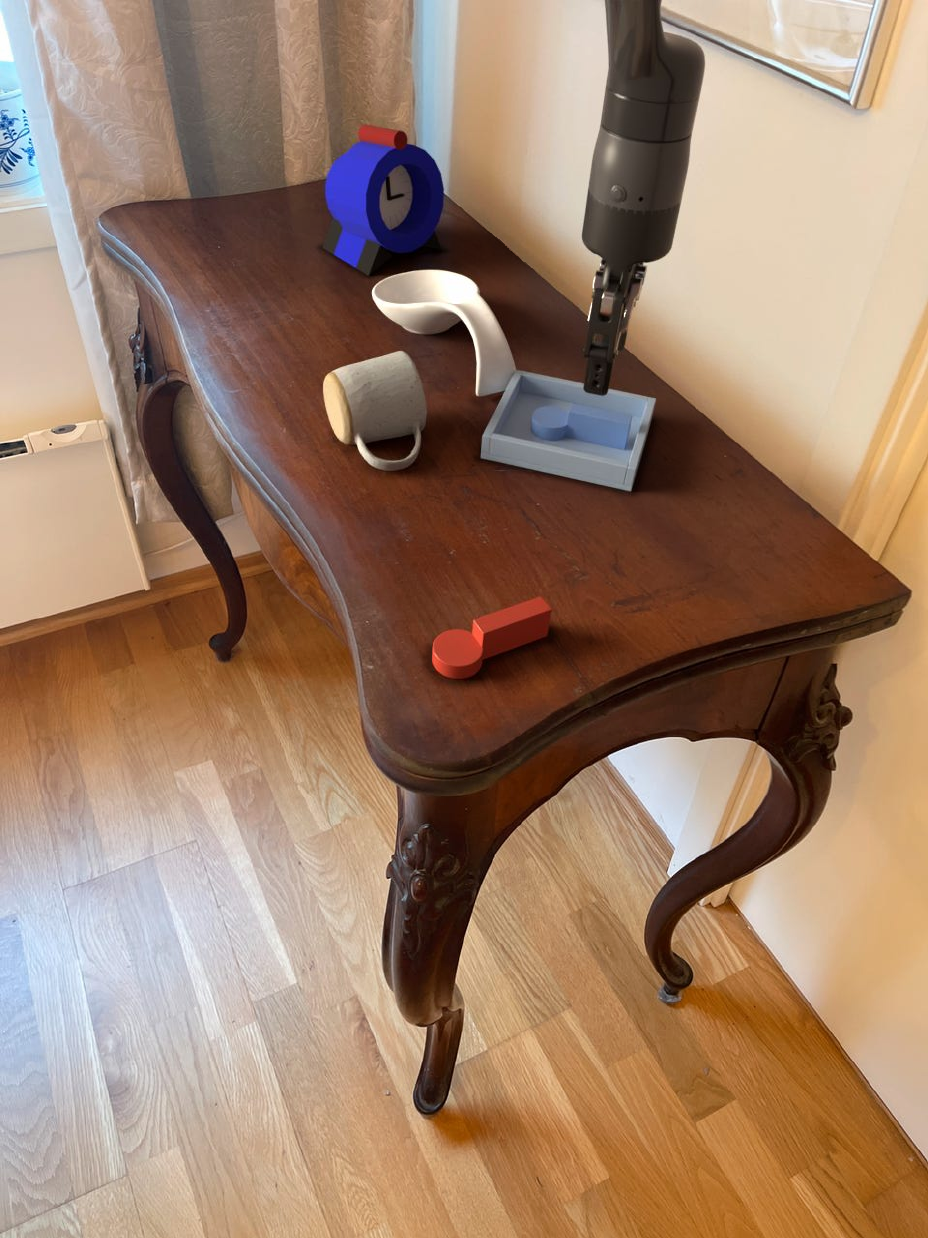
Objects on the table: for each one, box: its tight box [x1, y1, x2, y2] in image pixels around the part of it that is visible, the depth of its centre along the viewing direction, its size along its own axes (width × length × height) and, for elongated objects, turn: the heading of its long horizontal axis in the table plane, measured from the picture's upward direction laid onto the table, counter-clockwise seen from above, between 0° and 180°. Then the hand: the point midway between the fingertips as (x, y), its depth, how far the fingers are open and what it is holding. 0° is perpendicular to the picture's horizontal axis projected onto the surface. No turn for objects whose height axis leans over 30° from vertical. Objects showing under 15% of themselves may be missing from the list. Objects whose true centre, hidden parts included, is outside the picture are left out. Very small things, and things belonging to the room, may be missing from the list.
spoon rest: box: [371, 269, 517, 397], centre depth 101 cm, size 24×12×7 cm, turn 28°
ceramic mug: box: [322, 350, 428, 472], centre depth 87 cm, size 11×8×8 cm
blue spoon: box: [531, 403, 633, 450], centre depth 91 cm, size 10×4×3 cm, turn 73°
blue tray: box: [480, 369, 657, 492], centre depth 91 cm, size 15×13×3 cm
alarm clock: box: [322, 124, 445, 277], centre depth 115 cm, size 12×12×15 cm
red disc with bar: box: [431, 596, 553, 680], centre depth 71 cm, size 10×4×3 cm, turn 118°
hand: (604, 369), depth 86 cm, fingers open, 8 cm apart
